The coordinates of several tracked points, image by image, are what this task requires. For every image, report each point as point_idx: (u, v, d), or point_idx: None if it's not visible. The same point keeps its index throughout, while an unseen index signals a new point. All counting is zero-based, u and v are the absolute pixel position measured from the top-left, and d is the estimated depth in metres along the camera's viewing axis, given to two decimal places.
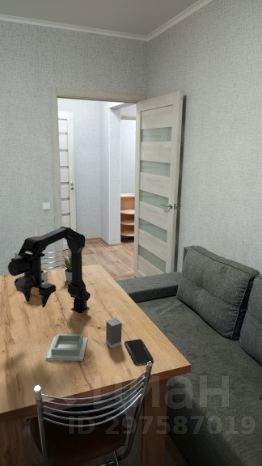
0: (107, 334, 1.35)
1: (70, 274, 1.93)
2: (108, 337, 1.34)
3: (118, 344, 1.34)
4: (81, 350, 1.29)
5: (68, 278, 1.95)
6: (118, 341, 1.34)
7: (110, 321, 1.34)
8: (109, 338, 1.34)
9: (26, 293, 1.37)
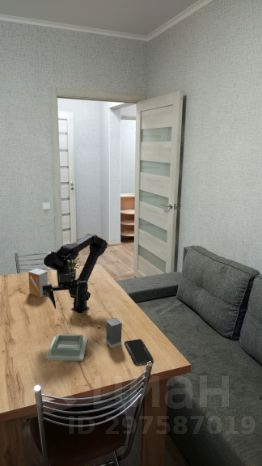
0: (107, 334, 1.35)
1: None
2: (108, 337, 1.34)
3: (118, 344, 1.34)
4: (81, 350, 1.29)
5: None
6: (118, 341, 1.34)
7: (110, 321, 1.34)
8: (109, 338, 1.34)
9: (54, 299, 1.37)
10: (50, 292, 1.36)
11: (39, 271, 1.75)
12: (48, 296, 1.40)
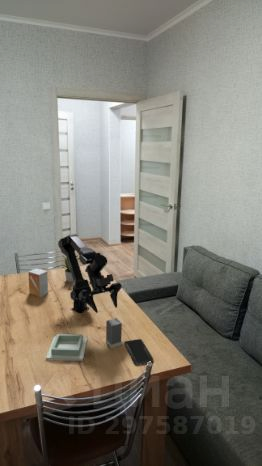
0: (107, 334, 1.35)
1: (70, 274, 1.93)
2: (108, 337, 1.34)
3: (118, 344, 1.34)
4: (81, 350, 1.29)
5: (68, 278, 1.95)
6: (118, 341, 1.34)
7: (110, 321, 1.34)
8: (109, 338, 1.34)
9: None
10: (90, 297, 1.35)
11: (39, 271, 1.75)
12: (85, 301, 1.39)
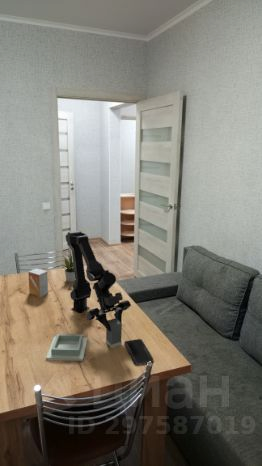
0: (107, 334, 1.35)
1: (70, 274, 1.93)
2: (108, 337, 1.34)
3: (118, 344, 1.34)
4: (81, 350, 1.29)
5: (68, 278, 1.95)
6: (118, 341, 1.34)
7: (110, 321, 1.34)
8: (109, 338, 1.34)
9: None
10: (103, 315, 1.32)
11: (39, 271, 1.75)
12: (98, 319, 1.35)
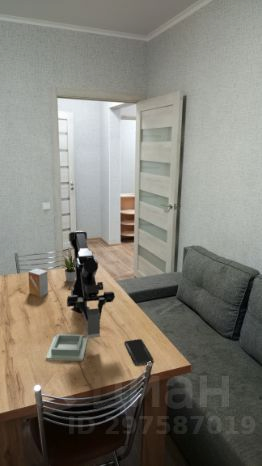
0: (86, 323, 1.30)
1: (70, 274, 1.93)
2: (87, 326, 1.29)
3: (96, 335, 1.29)
4: (81, 350, 1.29)
5: (68, 278, 1.95)
6: (96, 332, 1.28)
7: (89, 310, 1.29)
8: (87, 328, 1.29)
9: None
10: (81, 303, 1.27)
11: (39, 271, 1.75)
12: (78, 307, 1.31)
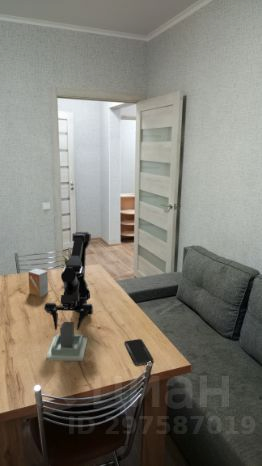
0: None
1: None
2: None
3: None
4: (81, 350, 1.29)
5: None
6: (69, 346, 1.28)
7: (64, 323, 1.29)
8: None
9: (56, 319, 1.29)
10: (52, 311, 1.28)
11: (39, 271, 1.75)
12: None
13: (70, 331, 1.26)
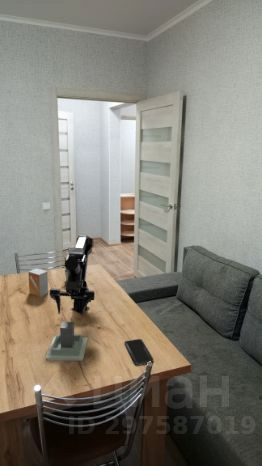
0: None
1: None
2: None
3: None
4: (81, 350, 1.29)
5: None
6: (69, 346, 1.28)
7: (64, 323, 1.29)
8: None
9: (59, 304, 1.37)
10: (56, 297, 1.36)
11: (39, 271, 1.75)
12: None
13: (70, 331, 1.26)
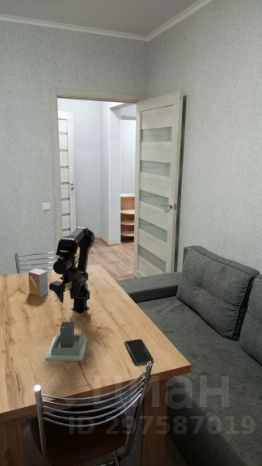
0: None
1: None
2: None
3: None
4: (81, 350, 1.29)
5: None
6: (69, 346, 1.28)
7: (64, 323, 1.29)
8: None
9: None
10: (63, 292, 1.37)
11: (39, 271, 1.75)
12: None
13: (70, 331, 1.26)
